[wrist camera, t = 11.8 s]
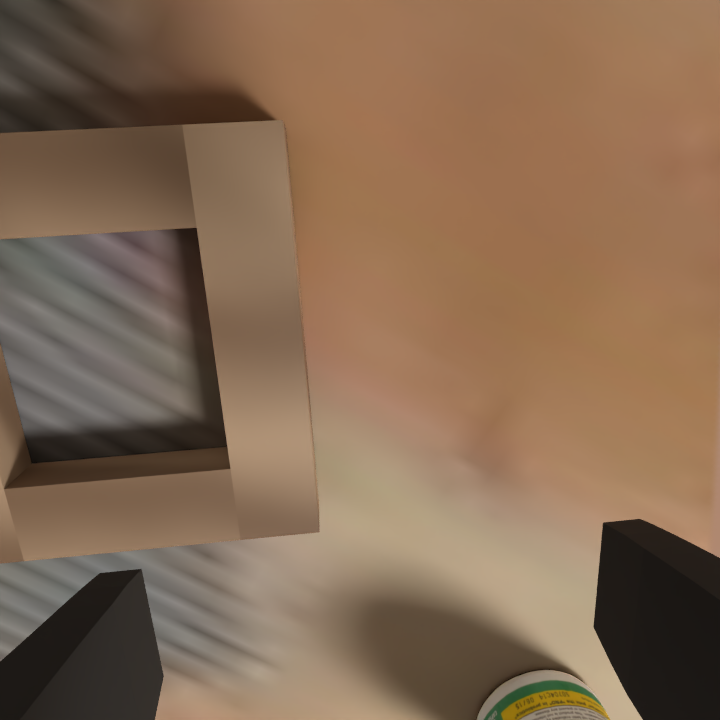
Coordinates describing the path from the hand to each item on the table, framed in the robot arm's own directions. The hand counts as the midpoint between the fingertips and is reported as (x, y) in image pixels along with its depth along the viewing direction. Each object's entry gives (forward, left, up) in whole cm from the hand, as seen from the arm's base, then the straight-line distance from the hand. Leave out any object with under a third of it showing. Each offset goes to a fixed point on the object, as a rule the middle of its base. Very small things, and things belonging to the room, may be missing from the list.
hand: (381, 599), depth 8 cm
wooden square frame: (+2, +7, -9) cm, 12 cm away
